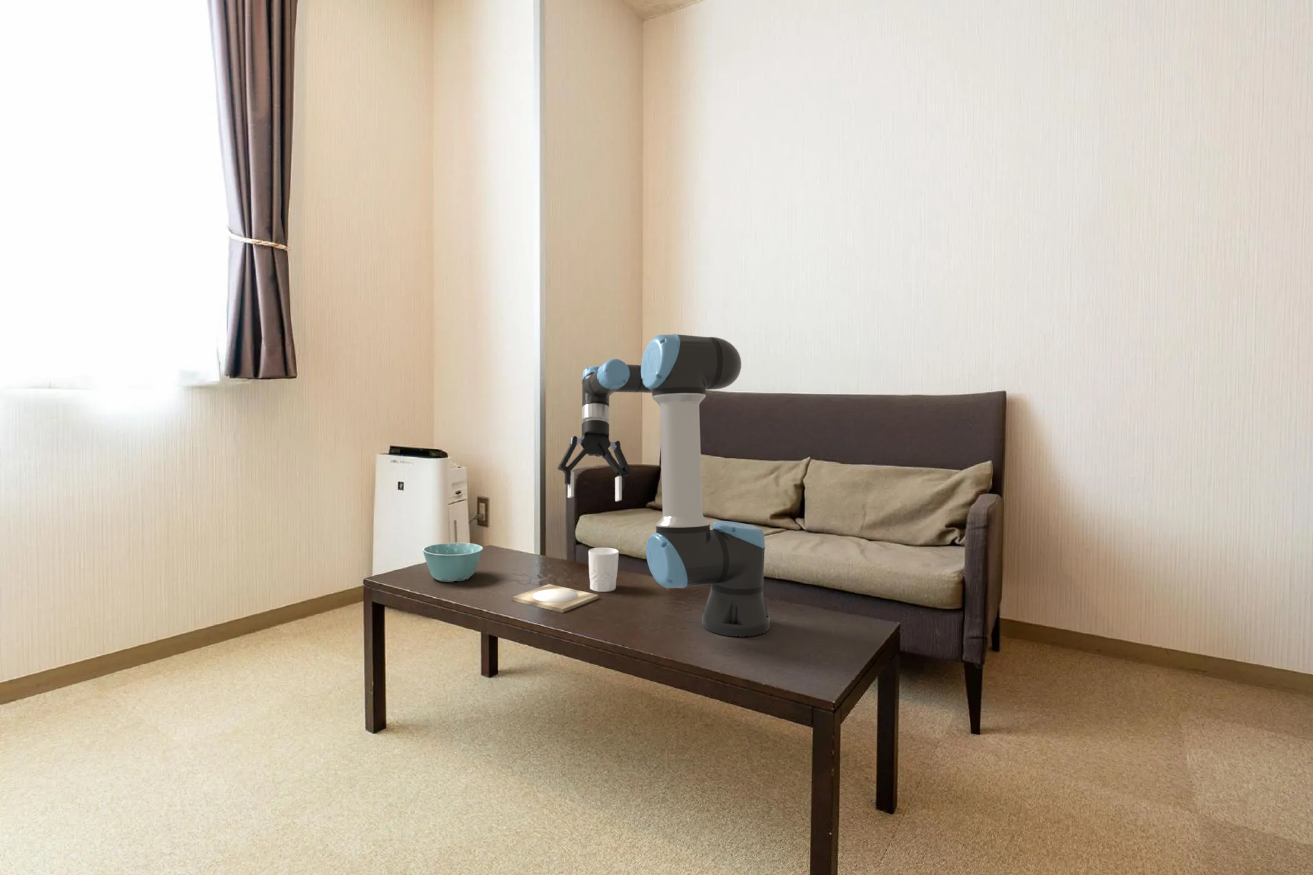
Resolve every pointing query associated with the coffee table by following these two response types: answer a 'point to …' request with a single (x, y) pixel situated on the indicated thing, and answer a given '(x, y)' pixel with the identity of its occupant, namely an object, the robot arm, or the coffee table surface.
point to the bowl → (452, 560)
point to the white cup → (603, 569)
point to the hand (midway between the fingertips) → (594, 498)
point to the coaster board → (555, 598)
